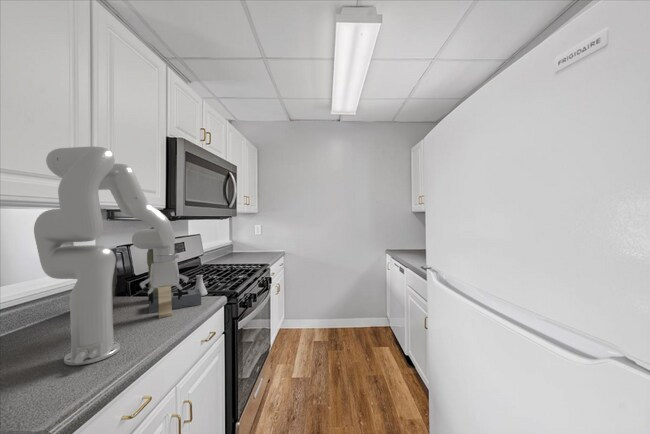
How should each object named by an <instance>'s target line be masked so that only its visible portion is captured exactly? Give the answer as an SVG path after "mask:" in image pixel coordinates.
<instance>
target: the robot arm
mask: <svg viewBox="0 0 650 434" xmlns="http://www.w3.org/2000/svg"><path fill="white" fill-rule="evenodd" d="M45 159H46V160H45V161H46V166H47V168H48V169H49V170H50V172H52V173H53V175H55V176H56V177H58V178H61V180H60V182H59V184H58V189H57V193H58V194H57V195H58V203H59V208H54V209H53V208H52V209H47V210H45V211H43V212H42V213H41V214H39V216H38V217H37V218H36V220H35V221H34V225H33V235H34V240H35V245H36V249H37V254H38V258H39V263H40V265H41V268H42V270H43V272H44V274H46V275H47V276H48V277H50V278H51V279H56V280H57V279H58V280H76V282H75V284H74V286H72V287H73V288H72V289H71V291H70V296H69V311H70V313H69V314H70V315H69V316H70V348H71V349H70V352H69V353H67V354H66V355H65V356H64V358H63V363H64V365H68V366H83V365H88V364H93V363H97V362H100V361H103V360H105V359H108V358H110V357H112V356H114V355H115V354H117V353H118V352H119V351H120V349H121V343H119V342H118V341H117V342H116V341H114V312H113V311H114V309H113V307H114V306H113V305H114V304H113V279H114V273H115V269H116V263H117V262H116V260H117V257H116V255H115V253H114V251H113V250H112V249H110V248H108V247H107V246H104V245H95V244H93V245H92V244H91V245H88V244H87V245H86V244H85V245H75V244H74V243H82V242H83V243H84V242H85V243H86V242H93V241H96V240H98V239H99V238H101V236H103V233H104V222H103V221H104V220H103V215H102V209H101V205H100V204H101V203H100V197H99V191H103V190H109V192H110V193H111V195H112V196H113V198H114V200H115V202H116V204H117V206H118V208H119V210H120V212H121V213H123V215H126V216H128V217H130V218H134V219H137V220H139V221H142V222H145V223H147V224H148V225H150V226H151V227H153V228H154V229H150V228H144V229H139V230H137V231H135V232H134V233H133V235H132V237H131V243H132V245H133V246H134V247H135V248H137V249H141V250H148V249H153V259H154V263H152V264H151V274H150V278H149V277H148V278H147V279H145V280H144V281H141V282H140V283H139V286H140V288H141V289H142V290H143V291H144V292H145V293H147V295H148V294H149V299H148V300H149V301H151V304H152V303H153V292H152V291H153V290H154V289H155V288H158V287H164V286H171V287H176V288H177V292H178V299H179V300H180V297H182V291H183V289H184V288H185V286H187V283H188V281H189V280H190V278H189V276H185V275H182V274H180V272H179V266H178V260H176V259H179V254H176V253H175V241H176V234H175V231H174V229H173V226H172V224H171V222H170V220H169V219H168V217H167V216H166V215H165V214H164V213H163V212H161V211H160V210H159V209H158V208H157V207H155V206H154V205H152V204H151V203H149V202H148V200H147V198H146V195H145V193H144V191H143V189H142V186H141V185H140V182H139V180H138V178H137V175H136V173H135V172H134V170H133V168H132V167H131V166H129V165H127V164H124V163H115V155H114V153H113V152H112V151H111V150H110V149H108V148H105V147H101V146H78V147H77V146H76V147H75V146H74V147H59V148H55V149H53V150H51V151H50V152H48V153H47V155H46V158H45ZM180 279H181V280H183V281H182V282H181V284H180ZM149 282H150V284H151V288H150V289H149V287H147V286H146V284H149Z"/></svg>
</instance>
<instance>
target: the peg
mask: <svg viewBox="0 0 650 434" xmlns="http://www.w3.org/2000/svg"><path fill="white" fill-rule="evenodd" d="M171 292H172V286H164V287H158V300H159V311H158V319H159V318H168V317H172V316H173V309H172V300H171Z"/></svg>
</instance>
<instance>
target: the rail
mask: <svg viewBox="0 0 650 434" xmlns="http://www.w3.org/2000/svg"><path fill="white" fill-rule="evenodd" d="M171 300H172V310H176V309H183V308H189V307H196V306H201V305H202V296H201V292H200V290H199V289H188V290H182V297H180V300H179V299H178V291H174V292H172V291H171ZM156 312H158V313H159V300H158V294H156V295H153V303H152V304H151V301H149V302H148V313H149V314H150V313H156Z"/></svg>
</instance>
